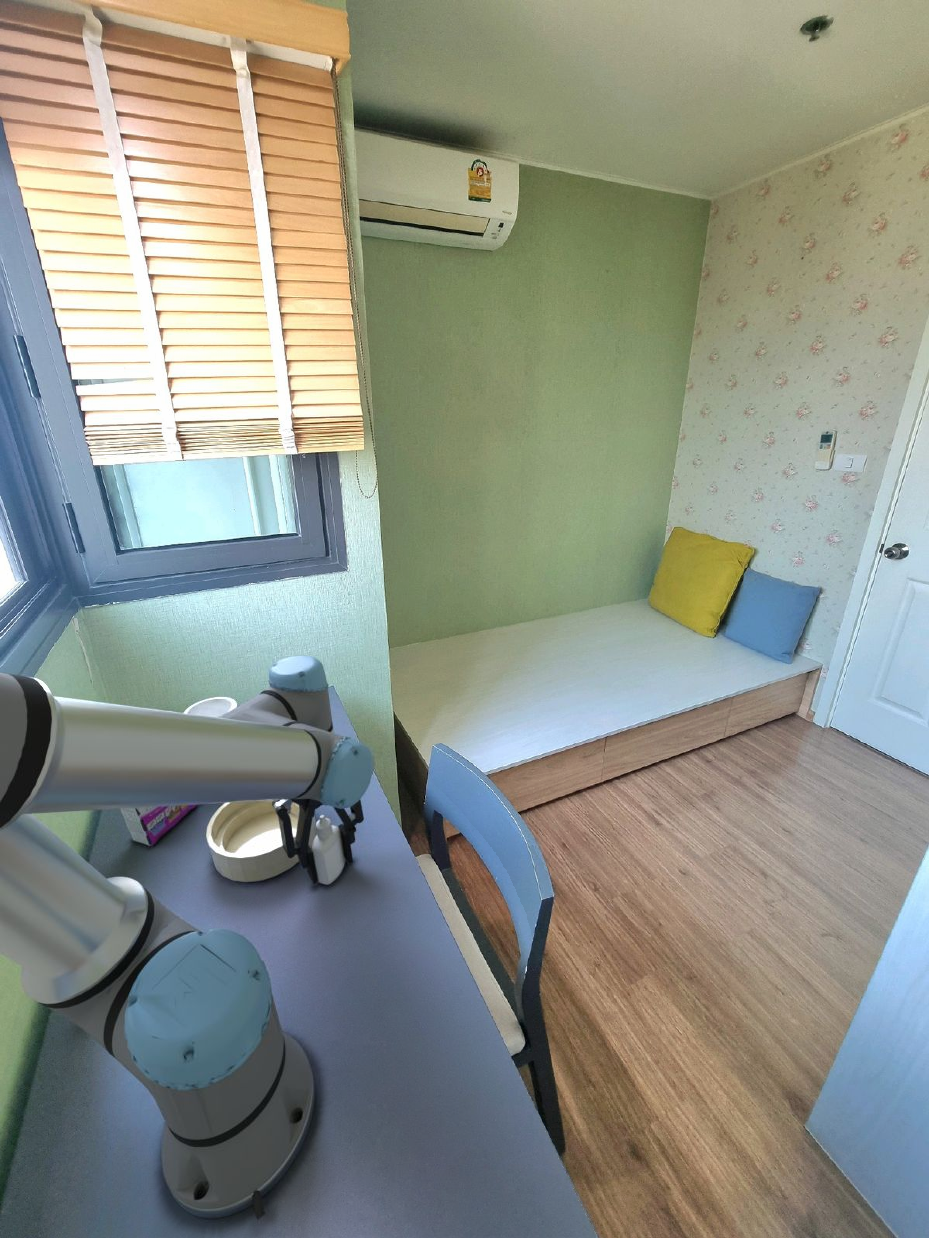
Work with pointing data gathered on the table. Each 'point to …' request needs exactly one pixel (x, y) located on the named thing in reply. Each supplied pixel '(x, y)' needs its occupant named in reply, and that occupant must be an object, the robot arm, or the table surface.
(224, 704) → the jar
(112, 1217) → the table surface
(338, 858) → the eye dropper bottle
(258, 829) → the bowl
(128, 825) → the candy bar box
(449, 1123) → the table surface
